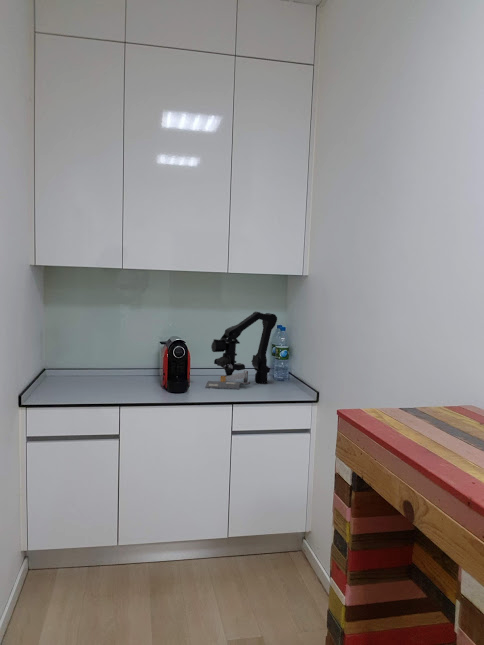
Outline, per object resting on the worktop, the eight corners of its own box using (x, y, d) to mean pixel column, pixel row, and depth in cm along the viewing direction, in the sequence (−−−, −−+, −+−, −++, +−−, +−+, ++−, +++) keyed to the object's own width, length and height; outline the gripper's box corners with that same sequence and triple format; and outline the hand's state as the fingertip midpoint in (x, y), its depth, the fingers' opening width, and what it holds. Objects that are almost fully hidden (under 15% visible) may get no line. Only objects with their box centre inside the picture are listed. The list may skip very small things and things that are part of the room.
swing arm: (245, 381, 281) (246, 370, 280) (248, 382, 279) (248, 371, 278) (220, 385, 268) (220, 374, 268) (222, 386, 267) (223, 375, 266)
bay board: (240, 383, 278) (240, 381, 278) (239, 389, 265) (239, 387, 264) (207, 381, 279) (207, 380, 279) (205, 387, 265) (205, 386, 265)
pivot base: (249, 382, 282) (250, 381, 282) (249, 384, 277) (249, 383, 277) (241, 382, 282) (241, 381, 282) (240, 384, 277) (240, 383, 277)
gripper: (207, 349, 272) (205, 377, 274) (232, 356, 259) (230, 385, 262) (222, 347, 280) (220, 375, 282) (246, 354, 268) (244, 382, 270)
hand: (228, 379), depth 274 cm, fingers closed
